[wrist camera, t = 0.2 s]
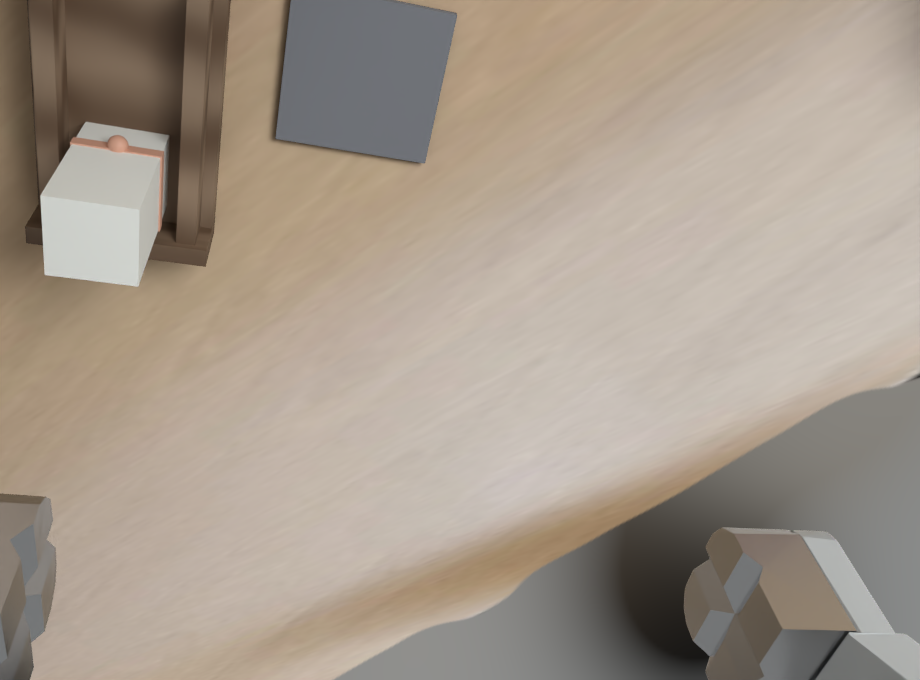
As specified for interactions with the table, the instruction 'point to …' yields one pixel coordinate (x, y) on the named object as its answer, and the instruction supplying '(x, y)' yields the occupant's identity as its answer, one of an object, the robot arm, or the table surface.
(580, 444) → the table surface
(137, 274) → the block
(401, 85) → the mat
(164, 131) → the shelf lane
